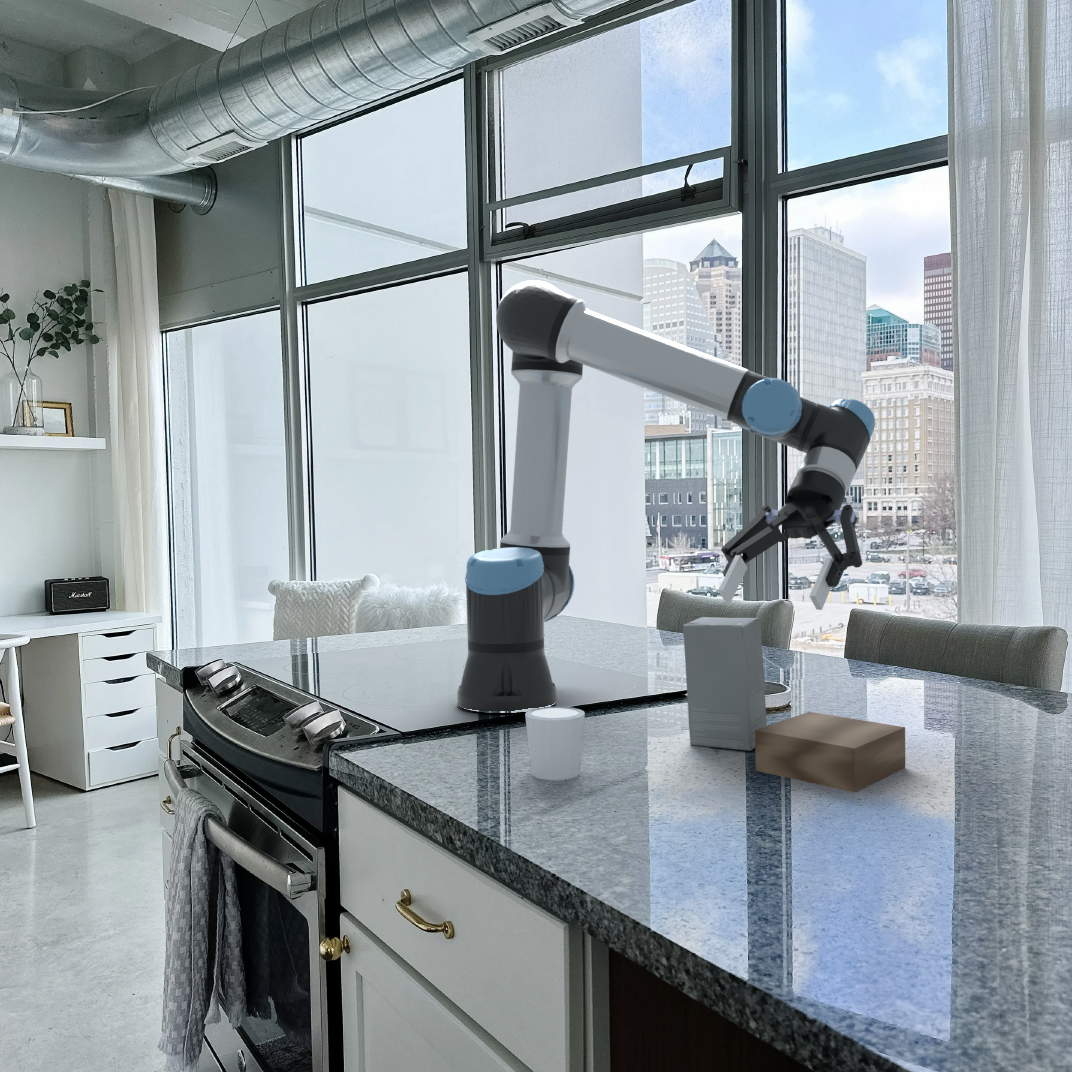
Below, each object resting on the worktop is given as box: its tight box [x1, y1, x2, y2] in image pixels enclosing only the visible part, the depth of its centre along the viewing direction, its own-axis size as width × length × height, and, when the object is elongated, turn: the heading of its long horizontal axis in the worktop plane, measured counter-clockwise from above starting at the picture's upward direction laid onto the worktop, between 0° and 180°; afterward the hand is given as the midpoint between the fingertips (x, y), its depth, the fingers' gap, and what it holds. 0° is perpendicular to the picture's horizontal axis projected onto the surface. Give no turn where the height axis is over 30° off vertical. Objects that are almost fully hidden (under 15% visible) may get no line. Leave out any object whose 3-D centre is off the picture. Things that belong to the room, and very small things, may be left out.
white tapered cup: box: [524, 706, 586, 781], centre depth 108 cm, size 7×7×7 cm
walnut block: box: [754, 711, 906, 793], centre depth 108 cm, size 12×12×5 cm
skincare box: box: [682, 616, 768, 752], centre depth 119 cm, size 8×7×16 cm
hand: (768, 600), depth 127 cm, fingers open, 13 cm apart
